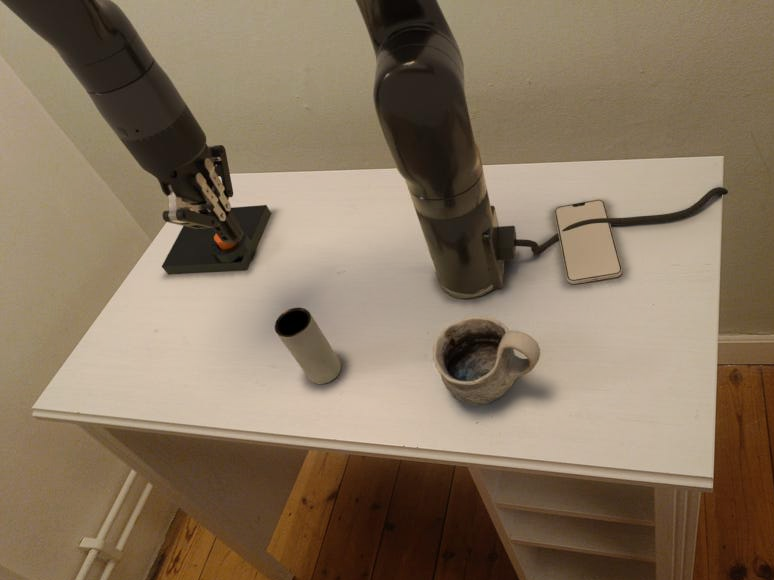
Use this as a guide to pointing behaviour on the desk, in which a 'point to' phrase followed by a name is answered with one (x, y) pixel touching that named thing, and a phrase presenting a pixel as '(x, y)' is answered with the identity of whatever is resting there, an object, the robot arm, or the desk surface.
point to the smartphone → (587, 243)
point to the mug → (482, 358)
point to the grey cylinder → (308, 345)
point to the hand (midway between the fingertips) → (235, 238)
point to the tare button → (223, 243)
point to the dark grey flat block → (204, 254)
